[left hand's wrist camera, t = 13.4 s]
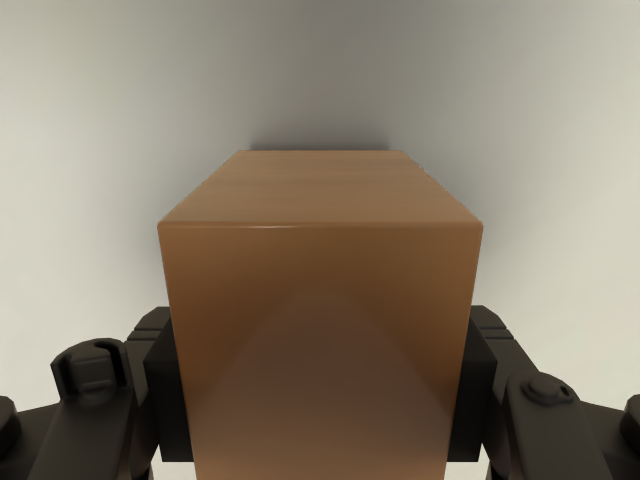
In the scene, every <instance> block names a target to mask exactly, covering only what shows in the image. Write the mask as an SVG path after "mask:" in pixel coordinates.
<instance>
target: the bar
mask: <svg viewBox="0 0 640 480" xmlns="http://www.w3.org/2000/svg"><path fill="white" fill-rule="evenodd" d="M157 229H158V235H159V241H160V248H161V254H162V261H163V267H164V273H165V280H166V286H167V293H168V299H169V305H170V312H171V318H172V324H173V331H174V337H175V344H176V350H177V356H178V363H179V369H180V375H181V382H182V388H183V395H184V401H185V407H186V414H187V420H188V427H189V433H190V439H191V446H192V452H193V458H194V465H195V471H196V478H197V480H444V475H445V468H446V462H447V456H448V449H449V443H450V436H451V430H452V424H453V417H454V411H455V405H456V398H457V392H458V385H459V379H460V373H461V366H462V360H463V353H464V347H465V341H466V334H467V328H468V321H469V315H470V309H471V302H472V296H473V289H474V283H475V277H476V270H477V264H478V257H479V251H480V245H481V238H482V232H483V223H482V222H481V221H480V220H479V219H478V218H477V217H476V216H474V215H473V214H472V213H471V212H470V211H469V210H468V209H467V208H465V207H464V206H463V205H462V204H461V203H460V202H459V201H458V200H457V199H455V198H454V197H453V196H452V195H451V194H450V193H449V192H448V191H446V190H445V189H444V188H443V187H442V186H441V185H440V184H439V183H437V182H436V181H435V180H434V179H433V178H432V177H431V176H430V175H429V174H427V173H426V172H425V171H424V170H423V169H422V168H421V167H420V166H418V165H417V164H416V163H415V162H414V161H413V160H412V159H411V158H409V157H408V156H407V155H406V154H405V153H404V152H403V151H401V150H240V151H238V152H237V153H236V154H234V155H233V156H232V157H231V158H230V159H229V160H228V161H227V162H225V163H224V164H223V165H222V166H221V167H220V168H219V169H218V170H217V171H215V172H214V173H213V174H212V175H211V176H210V177H209V178H208V179H206V180H205V181H204V182H203V183H202V184H201V185H200V186H199V187H197V188H196V189H195V190H194V191H193V192H192V193H191V194H190V195H189V196H187V197H186V198H185V199H184V200H183V201H182V202H181V203H180V204H178V205H177V206H176V207H175V208H174V209H173V210H172V211H171V212H169V213H168V214H167V215H166V216H165V217H164V218H163V219H162V220H161V221H159V222H158V225H157Z"/></svg>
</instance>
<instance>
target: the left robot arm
mask: <svg viewBox="0 0 640 480" xmlns="http://www.w3.org/2000/svg"><path fill="white" fill-rule="evenodd" d="M50 366H51V369H52V372H53V376H54V379H55V382H56V386H57V389H58V392H59V395H60V402H59V403H56V404H52V405H49V406H44V407H40V408H35V409H31V410H26V411H22V412H17V410H16V408H15V405H14V402H13V401H12V400H11V399H9V398H8V397H6V396H0V480H153V479H154V478H153V471H152V466H151V460H152V458H153V456H154V454H155V451H156V449H157V447H158V444H159V447H160V452H161V457H162V462H194V458H193V452H192V446H191V439H190V433H189V427H188V420H187V414H186V407H185V401H184V395H183V388H182V382H181V375H180V369H179V363H178V356H177V350H176V344H175V337H174V331H173V324H172V318H171V312H170V307H157V308H155V309H154V310H152V311H151V312H149V313H148V314H146V315H145V316H143V317H142V319H141V320H140V321H139V323H138V324H137V325H136V327H135V328H134V331H132V332H131V334H130V335H129V336H128V338H127V341H125V342H124V343H123V342H121V341H120V340H117V339H112V338H97V339H92V340H88V341H84V342H81V343H79V344H77V345H74V346H72V347H70V348H68V349H66V350H65V351H63V352H62V353H61V354H59V355H58V356H57V357H56V358H55V359H54V360H53V362H52V363H51V364H50ZM481 444H483V446H484V448H485V451H486V453H487V455H488V457H489V460H490V461H489V466H488V471H487V475H486V480H640V394H638V395H634V396H632V397H631V398H630V399H629V400H628V401H627V404H626V406H625V409H624V411H622V410H617V409H613V408H608V407H604V406H599V405H595V404H591V403H587V402H584V401H580V399H579V397H578V396H577V394H576V393H575V391H574V390H573V389H572V388H571V387H570V386H568V385H567V384H566V383H564V382H563V381H562V380H560V379H558V378H556V377H554V376H552V375H550V374H546V373H543V372H539V370H538V369H537V368H536V366H535V365H534V364H533V362H532V361H531V360H530V358H529V357H528V356H527V354H526V353H525V352H524V350H523V349H522V348H521V346H520V345H519V343H518V342H517V341H516V339H514V337H513V335H512V334H511V333H510V331H509V330H507V329H506V326H505V325H504V323H503V322H502V321H501V319H500V318H499V316H498V315H496V314H495V313H493V312H492V311H490V310H489V309H487V308H486V307H484V306H483V305H471V309H470V315H469V321H468V328H467V334H466V341H465V347H464V353H463V360H462V366H461V373H460V379H459V385H458V392H457V398H456V405H455V411H454V417H453V424H452V430H451V436H450V443H449V449H448V456H447V462H478V459H479V454H480V449H481Z"/></svg>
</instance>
